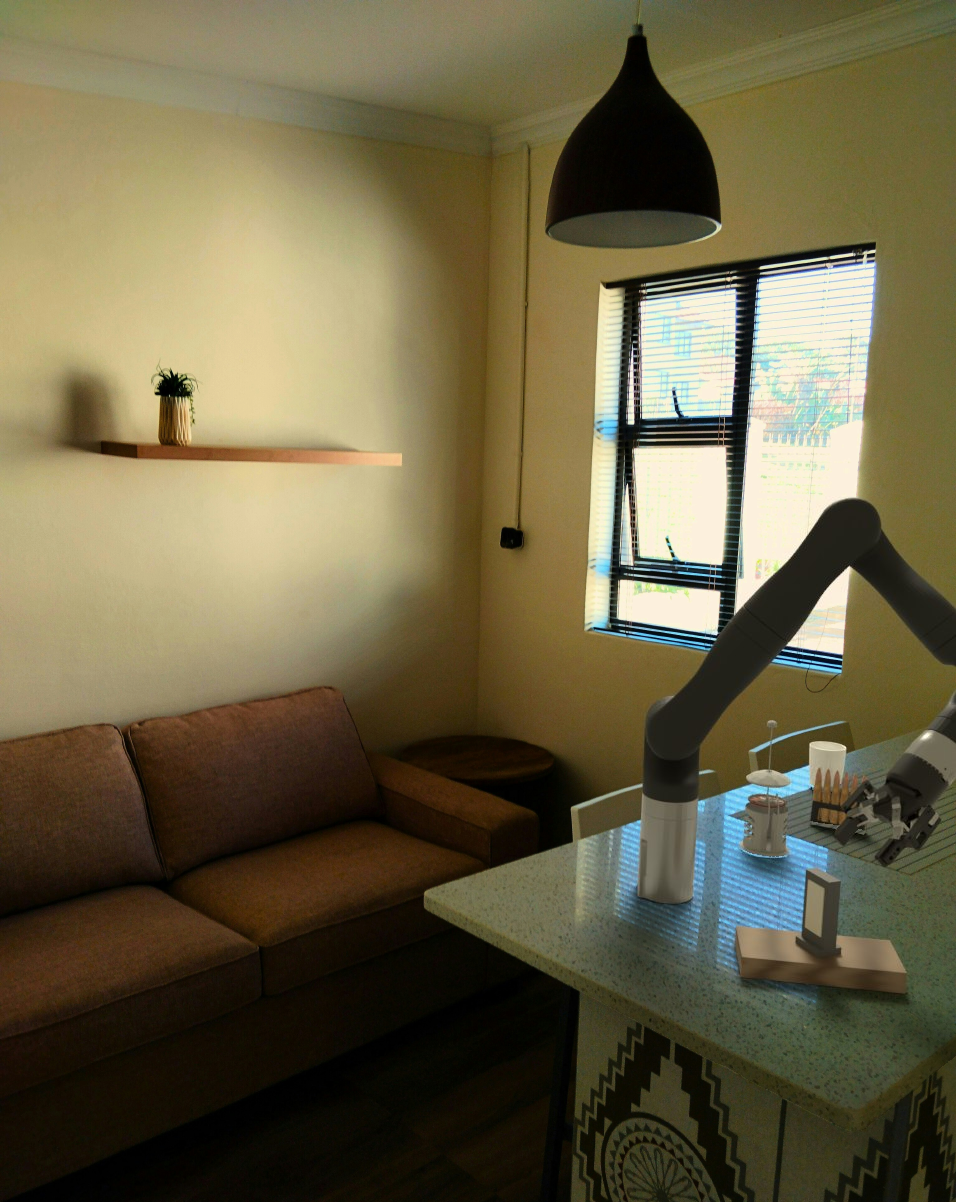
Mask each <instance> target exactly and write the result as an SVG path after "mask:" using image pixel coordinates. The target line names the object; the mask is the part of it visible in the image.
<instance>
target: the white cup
mask: <svg viewBox="0 0 956 1202" xmlns="http://www.w3.org/2000/svg"><path fill="white" fill-rule="evenodd" d="M808 752H809V757H808V758H809V761H808V765H809V767H808V772H809V774H808V775H809V785H810V784H811V785H813V786H814V785H815V780H816V773H817V770H818V768H819V767H820V769H821V773H822V787H824V781H825V775H826V772H827V770H828V769H829V770H830V774H831V787H833V784H834V777H835V773H836V771H837V770H838V771H839V775H840V784H841V785H842V783H843V778H844V773H845V772H844V770H845V763H846V755H847V747H846V746H845V745H843V744H841V743H838V742H832V741H821V740H820V741H812V742H809V751H808Z"/></svg>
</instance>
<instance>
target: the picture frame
mask: <svg viewBox="0 0 956 1202" xmlns="http://www.w3.org/2000/svg"><path fill="white" fill-rule="evenodd" d="M804 876H805V879H804V891H803V892H804V893H803V906H802V908H803V909H802V922H801V932H802V934H801V935H798V936H796V939H795V943H797V944H798V945H800V946H801V947H803V948H804V949H805V950H807V951H808V952H810V953H811V954H813V955H814V956H816V957H817V958H822V957H827V956H833V955H839V954H841V949H842V947H840V946H839V945H837V944H836V940H837V935H838V925H839V913H840V912H839V911H840V898H841V897H840V896H841V886H842V885H841V884H842V883H841V882H842V880H840V879H839V878H836V877H835V876H833V875H831V874H829V873H827V872H826V871H824V870H822V869H820V868H818V867H811V868H806V869H805V875H804Z"/></svg>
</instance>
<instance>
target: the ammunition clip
mask: <svg viewBox="0 0 956 1202" xmlns="http://www.w3.org/2000/svg"><path fill="white" fill-rule="evenodd" d="M858 778H859V777H858V774H857V773H854V774H853V776H852V780H851V787H850V777H849V774H848V772H847V771H845V772H844V774H843V778H842V784H841V790H840V775H839V771H838V770H837V771H836V773H835V777H834V784H833V789H832V793H831V774H830V770H829V769H828V770H827V772H826V775H825V781H824V787H823V792H822V773H821V769H820V767H819V768H818V770H817V773H816V780H815V785H814V790H813V793H812V801H811V802H812V803H811V811H810V819H809V822H810V821H813V822H818V823H825V824H833V825H841V824H842V822H843V821H844V820H845V819H846V814H845V812H844V811H843V810H842V809H841V806H842V805H843V803H844V802H845V801H846V800H847V799H848V798H849V797H850V796H851V795H852V794H853V793H854V791H855V790H856V789H857V788H858V787H859V780H858ZM865 780H868V779H867V776H866V775H863V776H862V779H861V783H860V785H861V784H862V783H863V782H864V781H865ZM849 790H850V791H849ZM856 804H857V803H856V802H855V804H854V805H853V806H852V807H851V808H852V809H853V808H854V807H855V806H856ZM864 815H865V814H861V815H859V816H858V817H861V816H864ZM867 825H868V823H866V824H863V825H861V826H859V827H858V828H859V829H862V830H865V827H866V828H867Z"/></svg>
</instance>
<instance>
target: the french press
mask: <svg viewBox="0 0 956 1202" xmlns="http://www.w3.org/2000/svg"><path fill="white" fill-rule="evenodd" d="M766 728H770V740H769V741H770V743H769V759H768V769H760V770H754V771H752V772H751V773H749V774H747V775H746V777H745V778H746V781H747V782H748V783H750V784H752V785H754V786H758V787H762V788H767V790H766V791H767V792H766V793H754V794H751V795H749V796H747V800H748V801H749V802H747V803H746V804H745V808H744V823H743V825H744V826H743V827H745V828H747V829H745V828H743V833H744V834H746V835H743V838H742V839H743V840H741V841H740V842H739V843H740V847H741V848H742V849H743V850H745V851H747V852H749V853H752V854H757V855H762V856H769V857H771V856H772V857H775V856H776V857H779V856H784V855H787V854H789V853H790V852H789V849H790V848H789V847H788V846H787V836H788V835H787V834H788V833H787V831H788V822H789V821H788V816H789V808H788V807H787V806H786V805H787V804H788V801H787V800H786V799H785V798H784V797H781V796H779V794H778V793H775V795H774V794H769V790H770V789H776V788H778V789H780V788H785V787H787V786H789V785H790V784H791V783H792V780H791V779H790V778H789V777H787V776H786V775H785V774H783V773H781V772H779V771H776V770H773V769H771V758H772V757H771V756H772V744H773V743H772V742H773V741H772V739H773V729H775V728H778V723H777V721H775V720H773V719H772V720H768V721H767V723H766ZM769 788H770V789H769ZM745 814H746V815H748V816H746V815H745ZM745 821H747V822H748V823H747V822H745Z"/></svg>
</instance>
